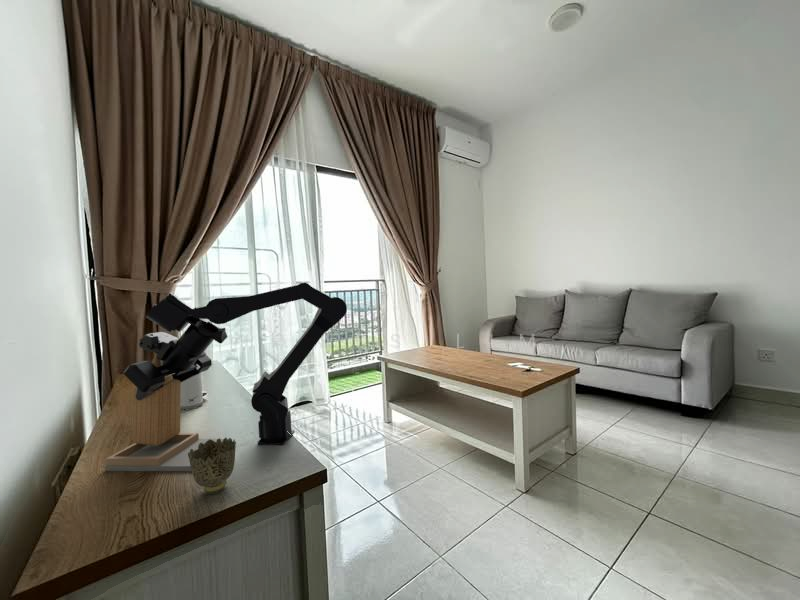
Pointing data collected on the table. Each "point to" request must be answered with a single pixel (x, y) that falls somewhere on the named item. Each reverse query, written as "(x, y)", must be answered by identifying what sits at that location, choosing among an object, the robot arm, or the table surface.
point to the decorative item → (157, 413)
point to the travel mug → (191, 392)
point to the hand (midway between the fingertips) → (151, 393)
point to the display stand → (157, 455)
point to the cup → (213, 464)
